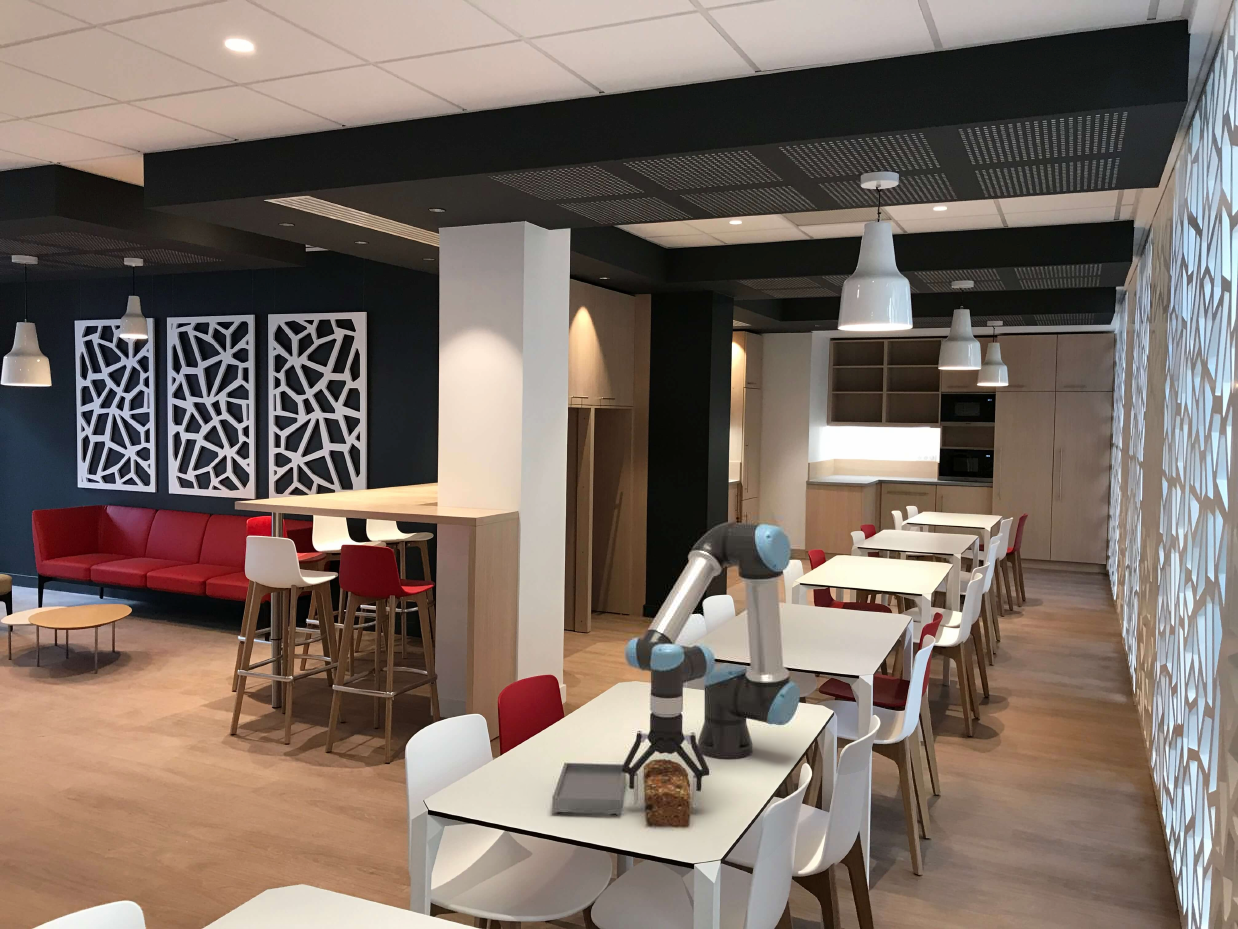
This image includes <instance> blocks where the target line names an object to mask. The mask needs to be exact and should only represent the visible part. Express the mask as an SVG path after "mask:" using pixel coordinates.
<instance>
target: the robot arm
mask: <svg viewBox="0 0 1238 929" xmlns="http://www.w3.org/2000/svg"><path fill="white" fill-rule="evenodd" d="M687 558H688V562H687V564H686V566H685V567H684V569H683V570H682V573H680V575H679V577H678V579H677V581H676V582H675V584H674V585H673V588H672V589H671V591H670V592H669V594H668V595H667V597H666V599H665V601H664V602H663V604H662V605H661V607H660V609H659V610H658V613H657V614H656V616H655V617H654V618H653V620H652V622H651V624H650V626H649V627H648V628H647V630H646V632H645V633H644V635H643V637H633V638H632V639H631V640H629V641H628V643H627V644H626V646H625V652H624V657H625V660H626V662H627V665H629V666H630V667H631V668H634V669H637V670H640V671H643V672H644V671H646V672H650V694H649V696H650V698H649V699H650V701H649V702H650V703H649V709H650V710H649V711H650V712H651V713H650V714H649V732H648V733H645V732H642V731H641V730H638V731H637V732H636V738H635V741H634V743H633V745H632V746H631V749H630V751H629V752H628V754H627V756H626V758H625V760H624V761H623V766H622V772H623V773H626V775H628V776H629V779H628V780H629V782H628V787H629V789H630V790H633V805H635V806H636V805H638V800H639V798H638V797H639V796H638V794H639V793H638V792H639V773H638V771H639V770H640V769H641V768H642V767H643V766H644V765H645V764H646V762H647V761H648V760H649V759H650V758H651V757H652V756H653V755H654V754H655V753H656V752H657V753H658V754H660V755H661V754H668V755H673V754H674V753H676V754H677V756H679V757H680V758H681V760H682V761H683V762H684V763H685V764H686V766H687V768H689V770H690V771H691V772H692V773H693V774H692V807H693V808H695V807H697V792H701V791H702V778H703V777H705V776H707V777H708V776H709V775H710V768H709V766H708V764H707V761H706V760H705V758H704V756H703V755H705V756H708V757H710V758H711V757H712V758H717V759H726V760H727V759H729V760H731V759H740V758H745V757H747V756H750V755H751V754H752V753H753V741H752V738H751V734H750V731H749V727H748V723H747V719H748V720H753V721H755V722H761V723H765V724H768V725H776V726H785V725H786V724H788V723H789V722H790V721H791V720H792V719H793V717H794V716H795V715H796V712H797V709H798V706H799V703H800V689H799V686H798V684H797V683H795V682H793V681H791V680H790V678H791V677H790V671H789V670H788V669H787V668H786V667H785V666H784V658H783V646H782V630H781V626H782V625H781V613H780V596H779V580H780V578H782V576H783V575H784V570H786V569H787V568H788V566H789V564H790V562H791V561H790V558H792V548H791V543H790V540H789V537H788V535H787V533H786V531H784V530H783V529H782V528H781V527H779V526H776V525H772V524H771V525H770V524H766V523H751V522H750V523H745V522H736V521H735V522H734V521H730V522H729V521H727V522H724V523H720V524H718V525H716V526H714V527H713V528H711V529H710V530H709V531H707V532H706V533H705V534H704V535H703V536H701V538H699V539H698V541H697V542H695V544H694V546H693V547H692V548H691V550H690V552H689V554H688V555H687ZM728 566H730V567H737V571H738V577H739V578H740V579H741V580H742V581H743V582H744V587H745V590H744V591H745V606H746V617H747V618H746V619H747V630H748V631H747V633H748V643H749V644H748V646H749V661H750V668H749V669H748V668H747V667H746V666H744V665H737V664H736V665H720V666H717V667H715V665H716V661H715V655H714V653H713V651H712V650H711V649H710V647H708V646H706V645H704V644H703V645H702V644H700V645H697V644H695V645H693V646H686V645H679V644H675V643H676V642H677V639H678V637H680V634H681V633H682V631H683V629H684V627H685V626H686V624H687V622H688V621H689V619H690V617H691V616H692V614H693V612H694V610H695V608H696V607H697V605H698V604H699V602H700V601H701V599H702V597H703V595H704V593H705V591H706V590H707V589H708V588H707V587H709V585H710V583H711V581H712V580H713V578H714V577H716V576H718V575H720V574H721V572H722V570H723V569H724V568H725V567H728ZM704 677H705V678H704ZM702 678H704V684H703V686H704V717H703V718H704V721H703V725H702V728H701V730H700V734H699V736H698V741H697V737H696V733H695V732H690V734H689V733H688V734H684V733H683V732H684V731H683V716H684V715H683V714H682V712H683V704H684V691H683V689H684V683H688V682H691V681H694V680H697V679H699V680H700V679H702ZM646 740H648V742H649V743H650V745H649V746H648V747H647V749H646V750H645V751H644V753H642V755H640V757H639V758H638V759H637V760H636V761H635V762H634V763H633V765H632V766H630V765H631V764H632V762H633V760H634V758H635V756H636V754H637V752H638V750H640V749H639V748H640V746H641V743H642V744H643V743H645V741H646ZM684 741H686V742H687V744H688V745H690V746H691V749H692V751H693V754H694V755H695V757H696V760H697V762H698V764H699V766H700V767H701V769H700V767H699V766H698V765H697V764H696V763H695V761H694V760H693V759H692V758H691V757H690V755H689V754H688V753H687V751H686V750H685V749H684V748H683V746H682V744H683V743H684Z"/></svg>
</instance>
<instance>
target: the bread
mask: <svg viewBox="0 0 1238 929" xmlns="http://www.w3.org/2000/svg"><path fill="white" fill-rule="evenodd" d="M642 767H643V789H644V790H643V792H644V811H645V812H644V813H645V821H646V825H648V826H650V827H651V826H653V827H658V828H661V827H665V826H670V827H674V828H679V827H682V828H688V827H689V824H690V815H691V805H692V804H691V784H690V780H689V773H688V772H687V770H686V769H685V767H684V766H683V765H682V764H680V763H678V762H677V761H673V760H671V759H665V758H664V759H663V758H662V759H661V758H660V759H652V760H650V761H649V762H647V763H644V764H643V766H642Z"/></svg>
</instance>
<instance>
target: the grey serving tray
mask: <svg viewBox="0 0 1238 929" xmlns="http://www.w3.org/2000/svg"><path fill="white" fill-rule="evenodd" d="M623 764H624V763H623ZM623 764H622V763H621V764H619V763H618V764H617V763H616V764H615V763H614V764H613V763H587V762H586V763H585V762H584V763H583V762H564V763H563V766H562V770H561V772H560V774H559V778H558V781H557V783H556V787H555V789H554V792H553V795H552V798H551V800H552V802H551V804H552V810H551V811H552V813H553V812H554V813H556V814H557V815H558V814H563V813H590V814H591V813H593V814H611V816H617V815H619V814H621V811H622V806H623V805H622V804H623V799H624V793H625V785H626V779H627V773H623V772H622V766H623Z"/></svg>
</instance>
